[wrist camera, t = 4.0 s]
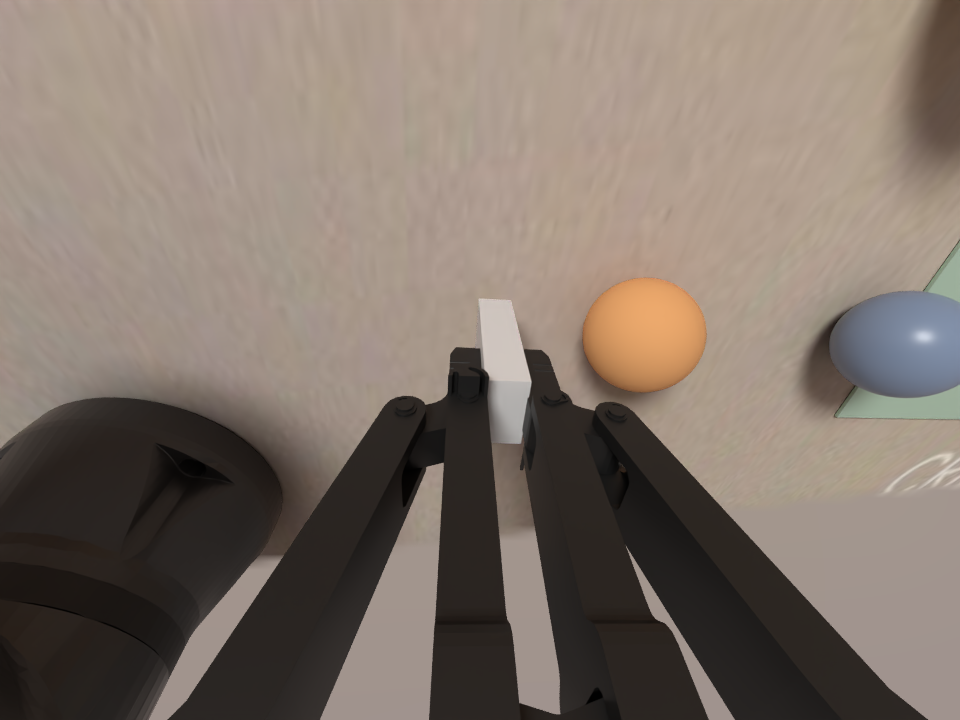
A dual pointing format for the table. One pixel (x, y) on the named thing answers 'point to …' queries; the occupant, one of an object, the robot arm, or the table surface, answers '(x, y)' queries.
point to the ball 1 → (644, 335)
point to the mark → (955, 282)
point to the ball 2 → (900, 344)
